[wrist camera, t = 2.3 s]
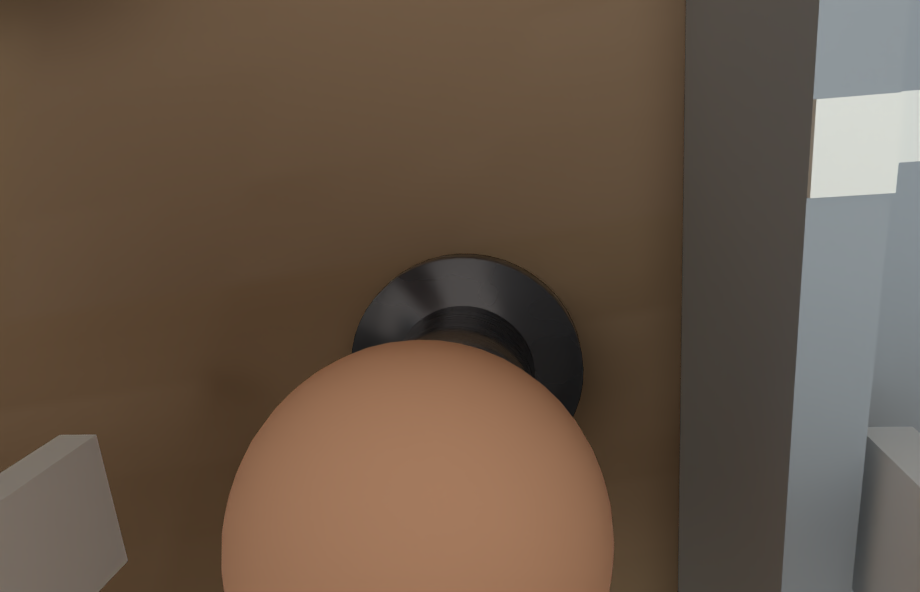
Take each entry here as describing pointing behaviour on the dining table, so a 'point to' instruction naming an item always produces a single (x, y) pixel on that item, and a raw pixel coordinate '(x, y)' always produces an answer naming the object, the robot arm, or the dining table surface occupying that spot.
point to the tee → (481, 317)
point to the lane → (794, 281)
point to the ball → (419, 482)
